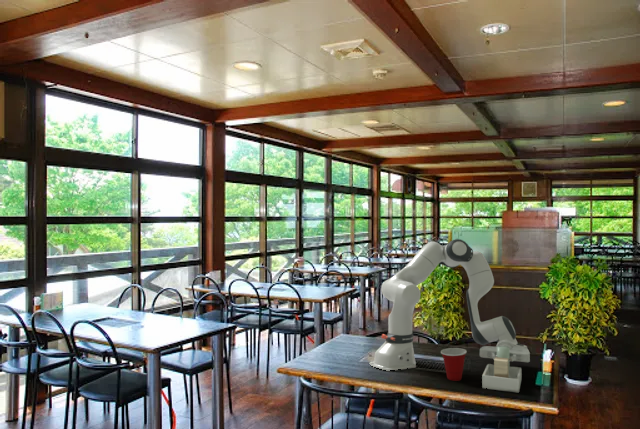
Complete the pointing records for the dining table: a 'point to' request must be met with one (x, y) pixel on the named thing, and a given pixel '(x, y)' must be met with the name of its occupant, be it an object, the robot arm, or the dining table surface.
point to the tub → (502, 379)
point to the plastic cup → (454, 362)
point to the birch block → (501, 367)
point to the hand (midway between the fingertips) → (502, 358)
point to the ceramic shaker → (503, 353)
